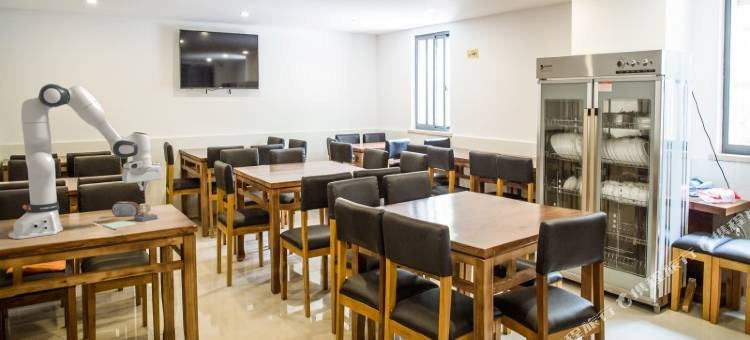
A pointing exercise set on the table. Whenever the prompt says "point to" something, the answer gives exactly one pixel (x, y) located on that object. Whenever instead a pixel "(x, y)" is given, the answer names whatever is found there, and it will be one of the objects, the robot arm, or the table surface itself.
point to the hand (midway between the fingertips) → (143, 190)
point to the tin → (125, 209)
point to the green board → (118, 224)
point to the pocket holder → (145, 218)
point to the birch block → (145, 210)
